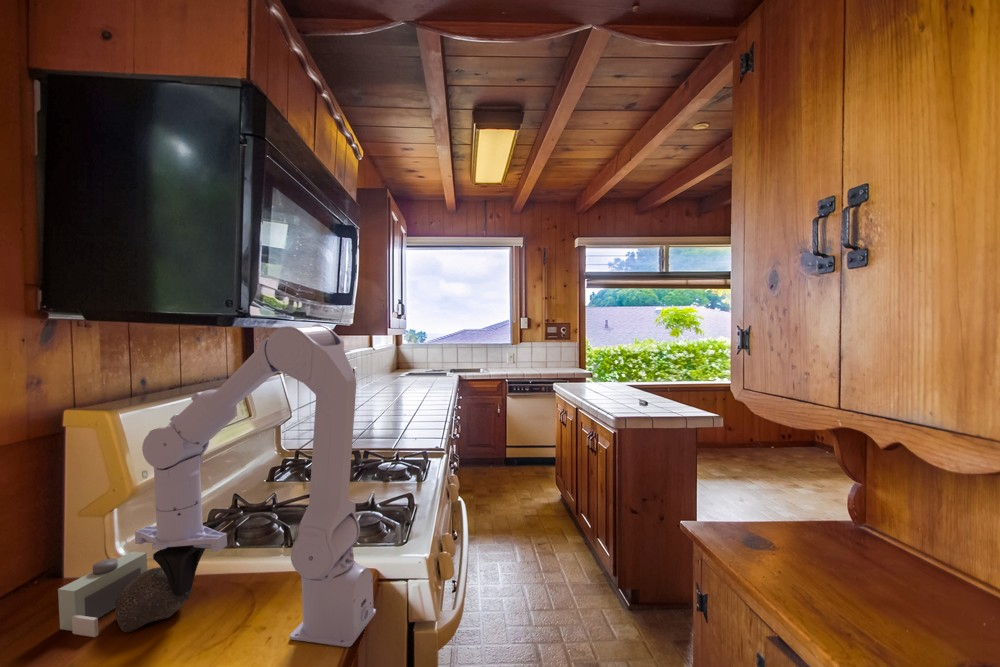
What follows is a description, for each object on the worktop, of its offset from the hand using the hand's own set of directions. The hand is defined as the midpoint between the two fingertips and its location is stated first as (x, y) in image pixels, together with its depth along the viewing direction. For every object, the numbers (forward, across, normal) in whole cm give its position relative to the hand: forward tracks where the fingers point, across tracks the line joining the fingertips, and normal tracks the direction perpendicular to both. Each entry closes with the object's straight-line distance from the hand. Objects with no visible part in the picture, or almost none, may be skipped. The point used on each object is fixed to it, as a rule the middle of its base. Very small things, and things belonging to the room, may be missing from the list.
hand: (183, 592), depth 71 cm
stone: (+4, -5, 0) cm, 7 cm away
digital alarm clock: (+4, -12, 0) cm, 13 cm away
